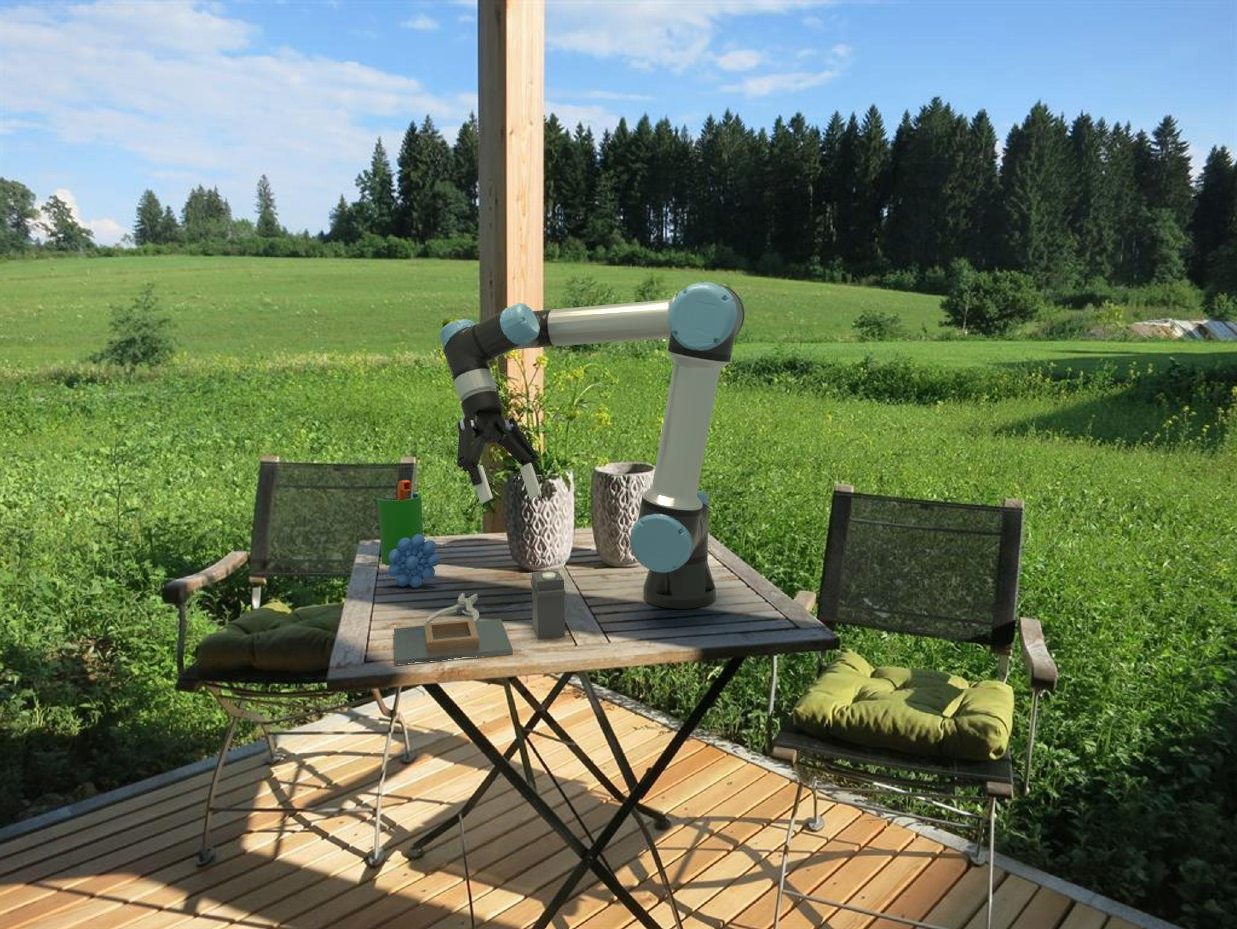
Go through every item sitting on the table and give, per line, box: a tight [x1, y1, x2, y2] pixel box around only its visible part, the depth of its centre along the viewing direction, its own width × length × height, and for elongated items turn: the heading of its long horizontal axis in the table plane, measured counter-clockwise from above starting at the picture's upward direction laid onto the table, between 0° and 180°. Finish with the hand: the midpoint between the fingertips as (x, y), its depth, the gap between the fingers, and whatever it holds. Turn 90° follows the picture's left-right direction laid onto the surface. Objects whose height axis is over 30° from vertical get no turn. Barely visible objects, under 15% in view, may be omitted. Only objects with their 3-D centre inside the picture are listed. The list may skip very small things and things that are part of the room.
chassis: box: [393, 618, 514, 667], centre depth 162 cm, size 20×16×2 cm
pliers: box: [425, 592, 480, 624], centre depth 180 cm, size 10×2×15 cm
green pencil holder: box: [377, 479, 424, 566], centre depth 215 cm, size 10×9×20 cm
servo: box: [530, 570, 566, 640], centre depth 166 cm, size 5×8×12 cm, turn 15°
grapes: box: [387, 534, 441, 589], centre depth 195 cm, size 12×7×12 cm, turn 86°
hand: (512, 498), depth 170 cm, fingers open, 13 cm apart
